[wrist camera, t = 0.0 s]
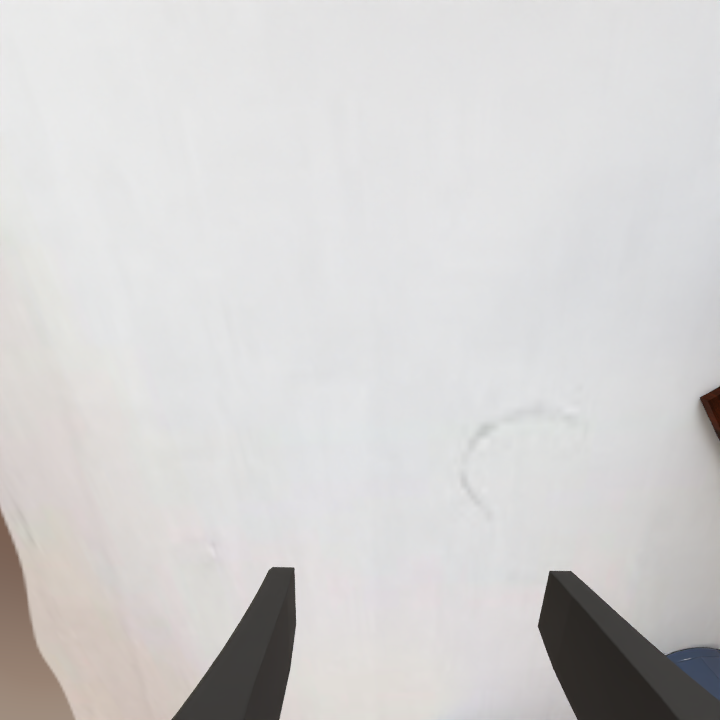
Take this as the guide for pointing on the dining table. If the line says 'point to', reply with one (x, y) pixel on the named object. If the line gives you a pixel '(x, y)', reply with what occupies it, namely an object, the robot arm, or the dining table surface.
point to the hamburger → (713, 408)
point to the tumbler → (700, 667)
